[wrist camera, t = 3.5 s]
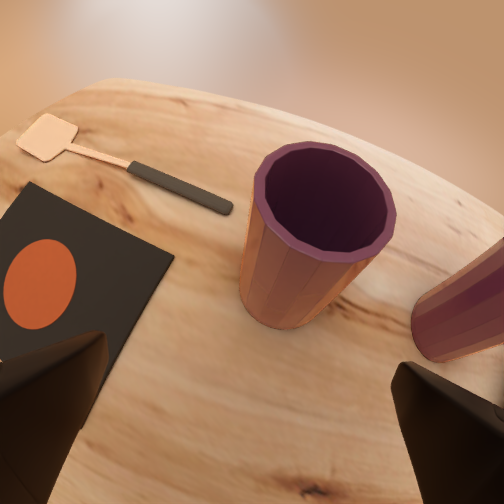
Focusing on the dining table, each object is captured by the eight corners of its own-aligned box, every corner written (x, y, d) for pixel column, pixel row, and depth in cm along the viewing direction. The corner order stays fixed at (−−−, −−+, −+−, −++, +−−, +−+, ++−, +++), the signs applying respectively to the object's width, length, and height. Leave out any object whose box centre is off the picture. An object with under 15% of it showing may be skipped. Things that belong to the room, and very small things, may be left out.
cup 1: (334, 269, 25) (402, 176, 14) (306, 343, 22) (381, 288, 11) (260, 236, 26) (285, 125, 15) (224, 306, 23) (226, 219, 12)
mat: (174, 257, 24) (173, 254, 24) (81, 429, 17) (78, 429, 17) (30, 183, 27) (29, 180, 26) (-45, 301, 19) (-48, 300, 19)
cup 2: (467, 306, 25) (553, 252, 14) (457, 371, 22) (559, 337, 11) (417, 281, 25) (503, 210, 15) (403, 350, 22) (508, 303, 12)
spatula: (48, 120, 31) (45, 112, 30) (245, 187, 28) (246, 177, 27) (18, 151, 29) (13, 143, 27) (214, 239, 25) (214, 229, 24)
